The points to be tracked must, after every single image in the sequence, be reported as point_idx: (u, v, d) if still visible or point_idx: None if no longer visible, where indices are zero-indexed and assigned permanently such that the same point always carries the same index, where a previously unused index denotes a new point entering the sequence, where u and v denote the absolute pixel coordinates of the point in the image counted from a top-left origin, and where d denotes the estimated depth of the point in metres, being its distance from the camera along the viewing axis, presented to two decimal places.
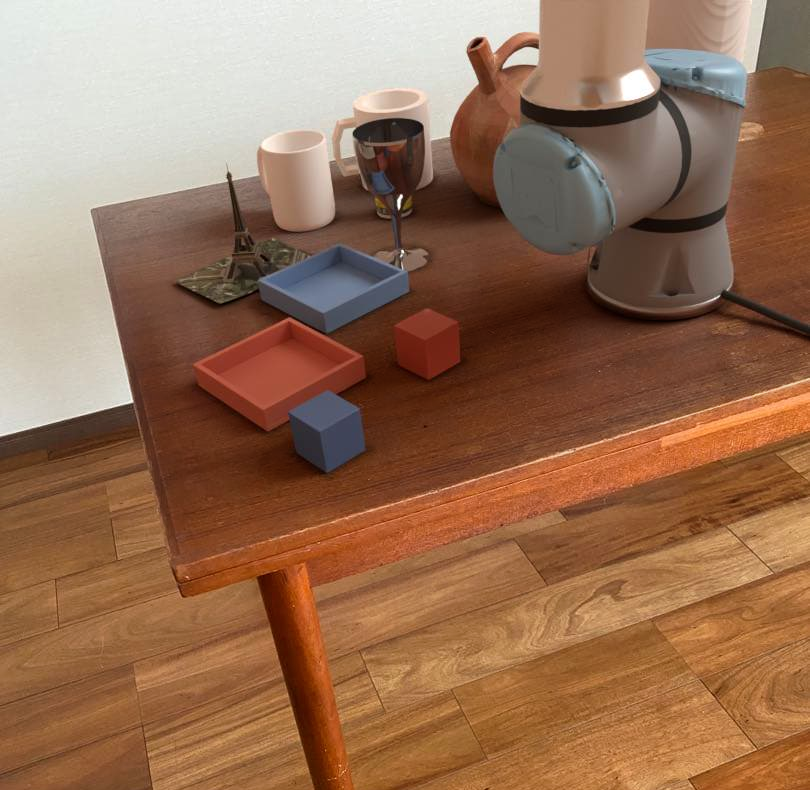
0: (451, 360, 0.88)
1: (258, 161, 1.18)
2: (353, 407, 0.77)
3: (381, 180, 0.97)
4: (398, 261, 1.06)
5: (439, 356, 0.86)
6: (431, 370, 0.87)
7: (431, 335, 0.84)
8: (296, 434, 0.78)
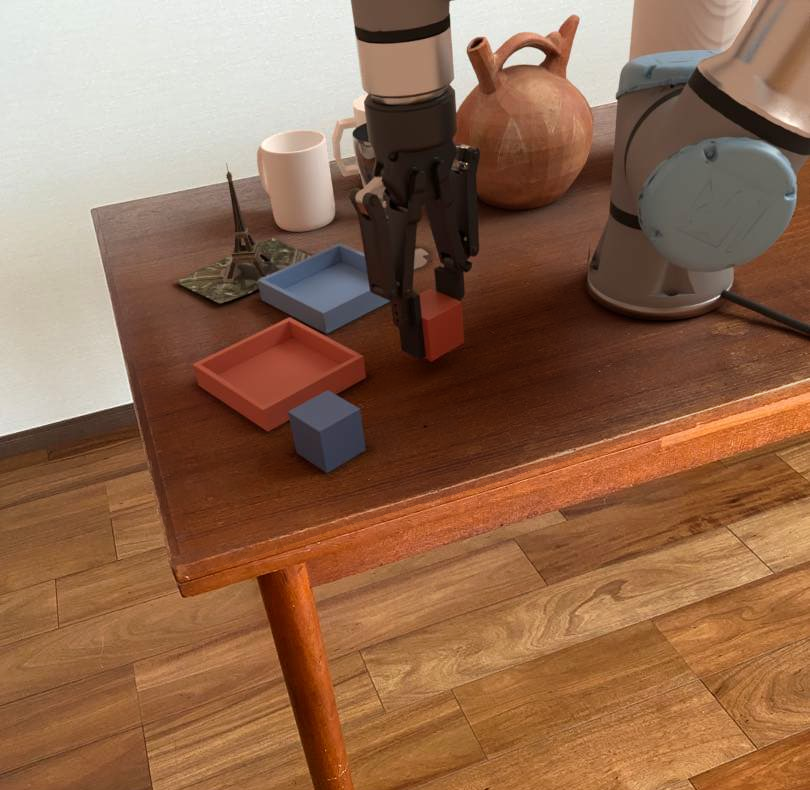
0: (455, 341, 0.87)
1: (258, 161, 1.18)
2: (353, 407, 0.77)
3: None
4: None
5: (443, 336, 0.85)
6: (434, 351, 0.85)
7: (433, 315, 0.83)
8: (296, 434, 0.78)
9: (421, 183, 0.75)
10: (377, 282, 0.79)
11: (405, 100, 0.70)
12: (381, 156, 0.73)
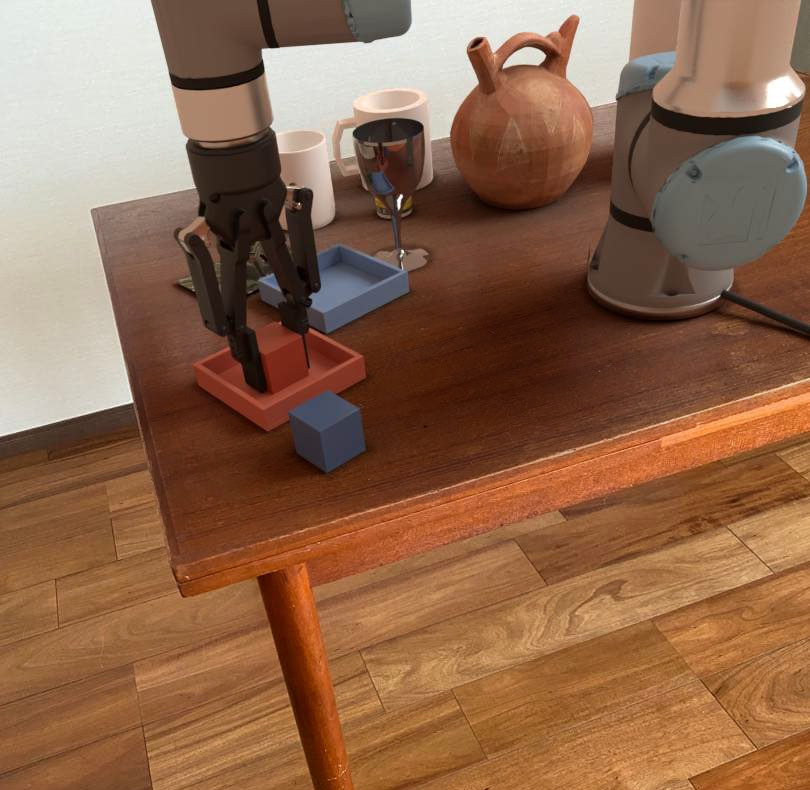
0: (298, 374, 0.88)
1: None
2: (353, 407, 0.77)
3: (381, 180, 0.97)
4: (398, 261, 1.06)
5: (283, 370, 0.86)
6: (275, 384, 0.86)
7: (271, 349, 0.84)
8: (296, 434, 0.78)
9: (246, 223, 0.76)
10: (208, 318, 0.80)
11: (220, 144, 0.70)
12: (203, 197, 0.74)
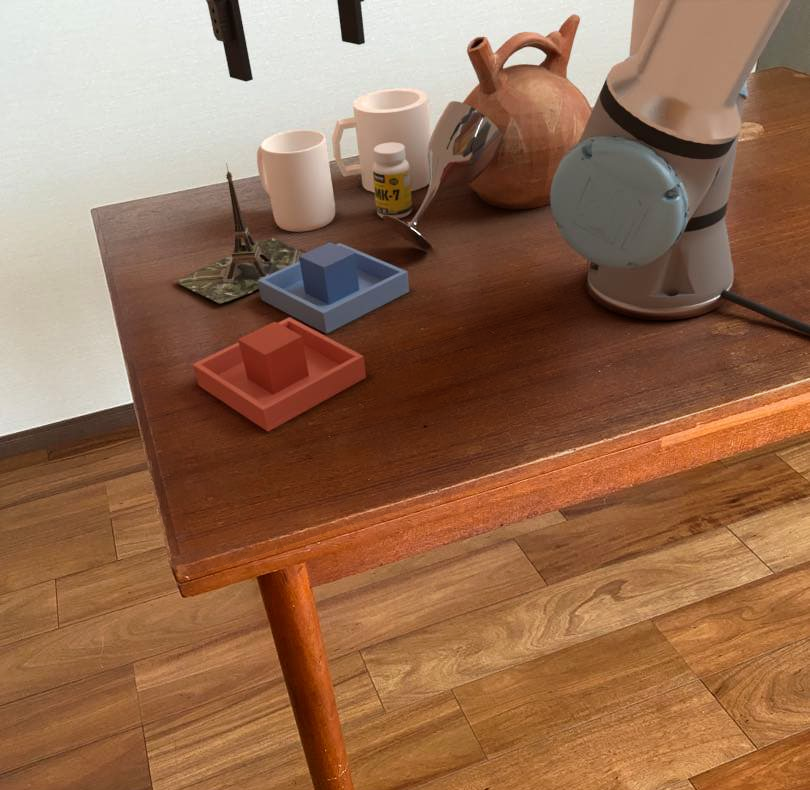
0: (298, 374, 0.88)
1: (258, 161, 1.18)
2: (349, 252, 0.98)
3: (457, 142, 1.01)
4: (412, 227, 1.04)
5: (283, 370, 0.86)
6: (275, 384, 0.86)
7: (271, 349, 0.84)
8: (305, 275, 1.00)
9: None
10: None
11: None
12: None
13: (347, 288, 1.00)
